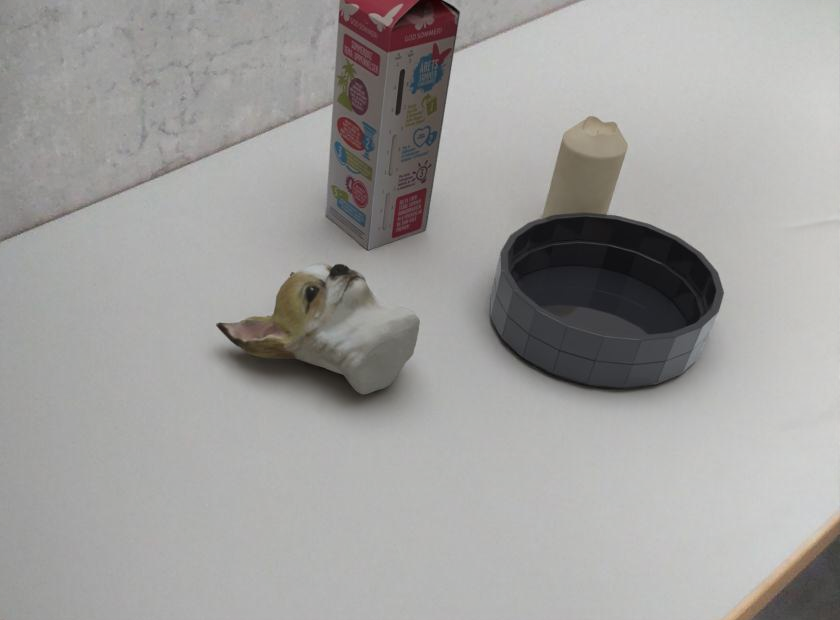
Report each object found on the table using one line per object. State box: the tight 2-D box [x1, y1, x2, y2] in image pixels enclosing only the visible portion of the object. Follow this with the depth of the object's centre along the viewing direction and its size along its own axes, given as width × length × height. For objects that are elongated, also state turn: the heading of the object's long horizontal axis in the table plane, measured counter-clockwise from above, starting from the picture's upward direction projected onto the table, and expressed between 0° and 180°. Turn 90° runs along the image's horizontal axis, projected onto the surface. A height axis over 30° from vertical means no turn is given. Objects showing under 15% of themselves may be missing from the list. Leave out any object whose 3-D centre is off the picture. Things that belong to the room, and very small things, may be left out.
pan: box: [489, 213, 725, 389], centre depth 76 cm, size 17×17×5 cm
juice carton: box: [325, 0, 461, 251], centre depth 79 cm, size 7×7×22 cm
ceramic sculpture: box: [215, 263, 421, 396], centre depth 71 cm, size 11×9×15 cm
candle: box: [541, 115, 629, 219], centre depth 84 cm, size 6×6×10 cm
